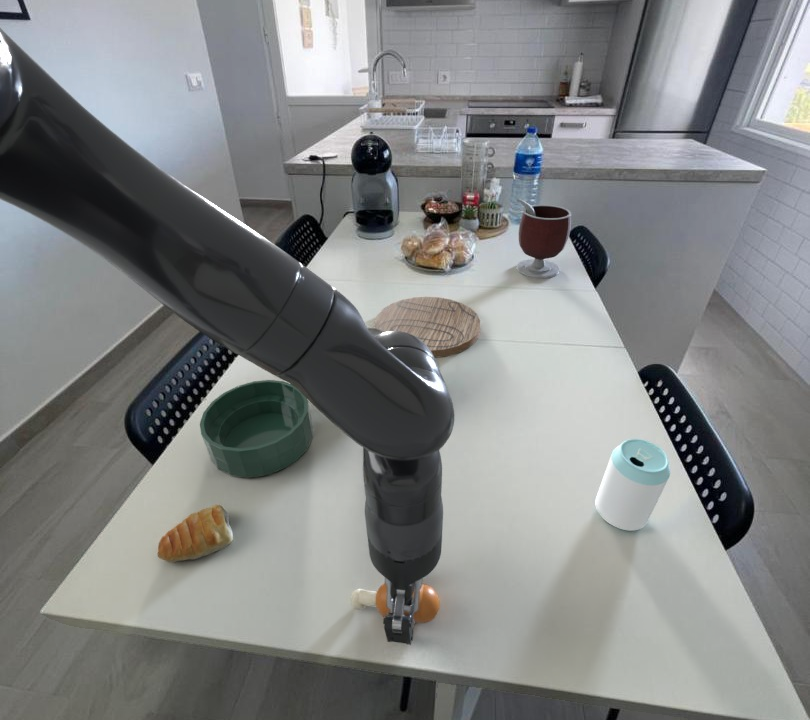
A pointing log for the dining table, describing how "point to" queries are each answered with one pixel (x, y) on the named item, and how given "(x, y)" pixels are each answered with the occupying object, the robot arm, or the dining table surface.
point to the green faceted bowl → (257, 428)
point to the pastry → (197, 535)
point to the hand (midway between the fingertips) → (407, 606)
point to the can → (632, 484)
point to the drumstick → (423, 615)
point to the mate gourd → (542, 238)
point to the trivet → (433, 323)
